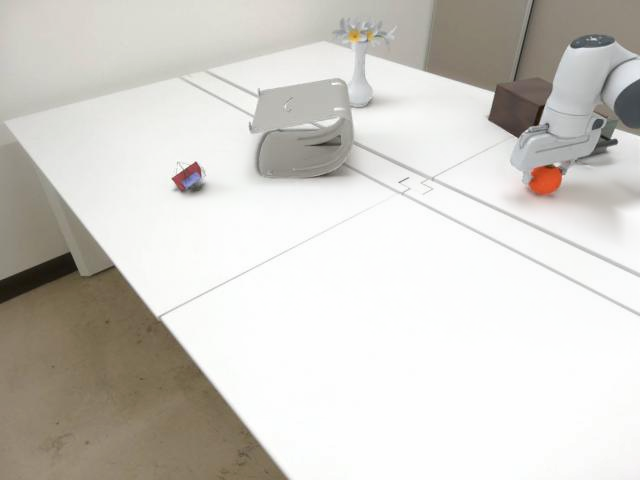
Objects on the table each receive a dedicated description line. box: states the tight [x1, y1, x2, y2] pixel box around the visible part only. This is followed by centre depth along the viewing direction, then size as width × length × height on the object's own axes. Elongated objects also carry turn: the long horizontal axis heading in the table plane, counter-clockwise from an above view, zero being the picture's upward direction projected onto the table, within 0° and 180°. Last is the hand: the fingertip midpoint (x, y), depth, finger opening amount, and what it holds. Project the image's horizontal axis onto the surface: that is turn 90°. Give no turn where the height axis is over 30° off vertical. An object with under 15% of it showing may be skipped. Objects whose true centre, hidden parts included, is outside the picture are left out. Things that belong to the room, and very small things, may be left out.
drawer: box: [535, 108, 620, 156], centre depth 116 cm, size 20×13×9 cm
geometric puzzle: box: [170, 160, 207, 192], centre depth 104 cm, size 7×7×8 cm
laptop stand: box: [248, 77, 355, 179], centre depth 114 cm, size 26×24×16 cm
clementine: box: [527, 164, 563, 196], centre depth 102 cm, size 8×7×7 cm
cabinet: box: [487, 76, 553, 139], centre depth 127 cm, size 17×15×11 cm
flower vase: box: [331, 14, 398, 108], centre depth 137 cm, size 13×18×25 cm
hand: (543, 178), depth 102 cm, fingers open, 8 cm apart
